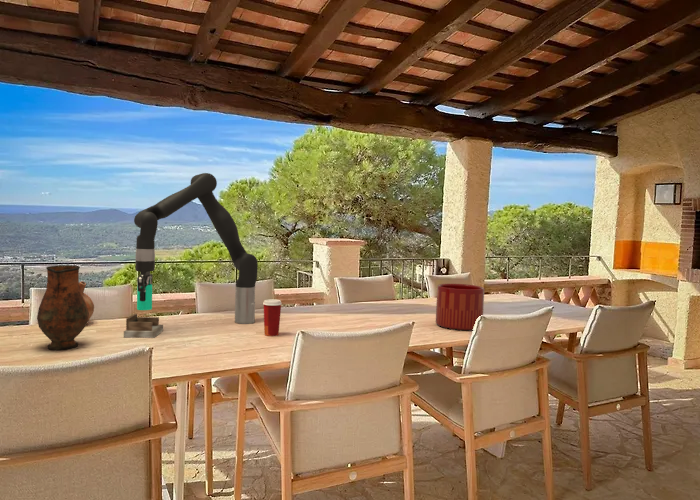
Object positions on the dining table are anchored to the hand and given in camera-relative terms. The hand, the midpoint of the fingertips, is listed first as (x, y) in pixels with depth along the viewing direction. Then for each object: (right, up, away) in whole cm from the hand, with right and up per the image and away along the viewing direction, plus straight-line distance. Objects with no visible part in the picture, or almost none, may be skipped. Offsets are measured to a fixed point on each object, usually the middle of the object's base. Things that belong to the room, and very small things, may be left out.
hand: (144, 299), depth 210 cm
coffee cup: (+52, -16, +8) cm, 55 cm away
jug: (-38, -12, +13) cm, 42 cm away
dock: (-1, -14, +1) cm, 14 cm away
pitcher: (-21, -15, -22) cm, 34 cm away
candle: (0, -4, 0) cm, 4 cm away
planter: (+141, -18, +41) cm, 148 cm away
